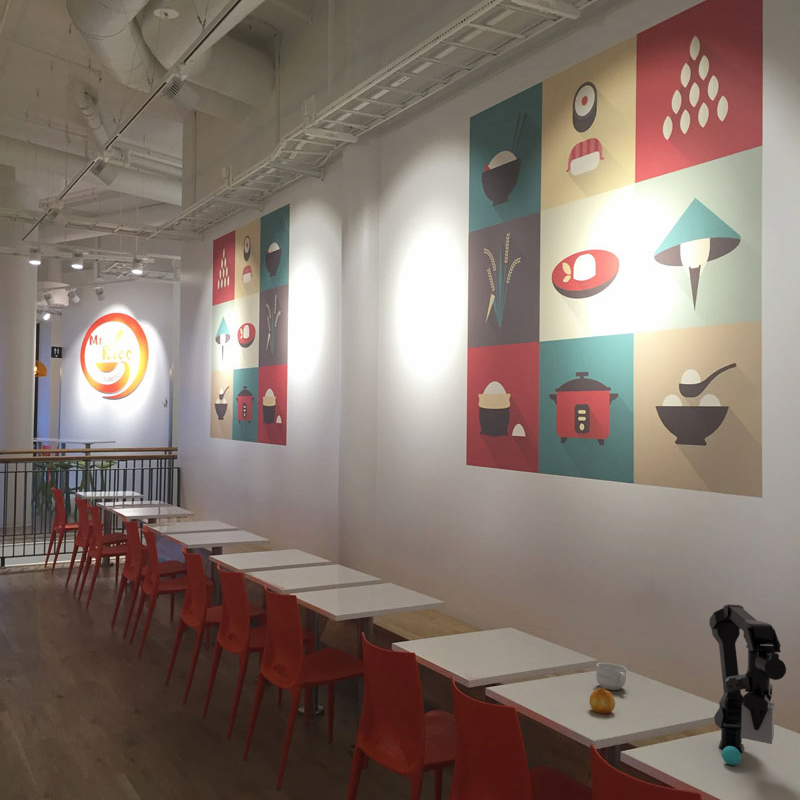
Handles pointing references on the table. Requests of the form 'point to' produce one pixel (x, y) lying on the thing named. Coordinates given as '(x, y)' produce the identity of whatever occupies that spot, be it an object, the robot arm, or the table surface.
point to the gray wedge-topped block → (765, 729)
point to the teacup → (611, 676)
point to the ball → (731, 755)
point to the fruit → (602, 701)
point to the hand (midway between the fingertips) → (757, 725)
